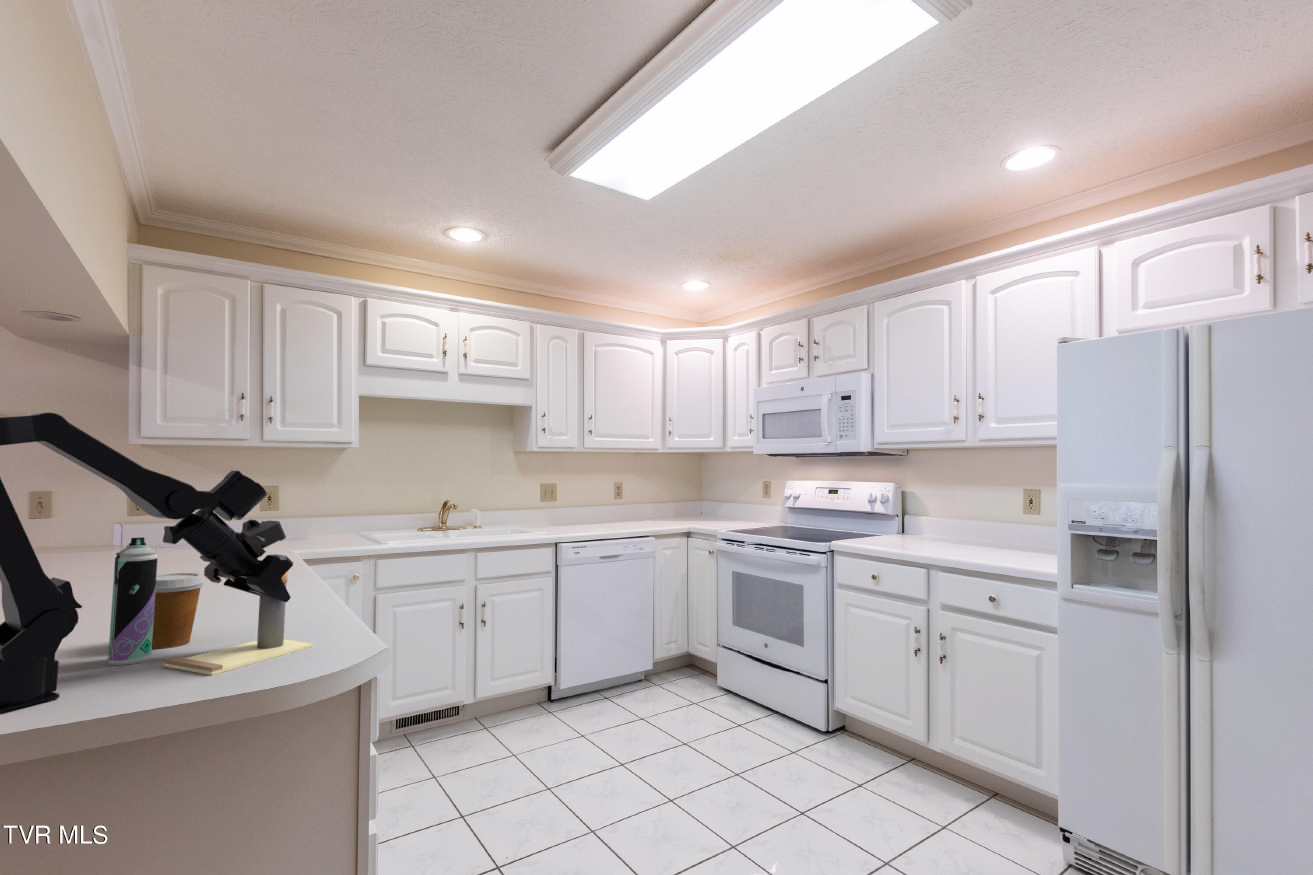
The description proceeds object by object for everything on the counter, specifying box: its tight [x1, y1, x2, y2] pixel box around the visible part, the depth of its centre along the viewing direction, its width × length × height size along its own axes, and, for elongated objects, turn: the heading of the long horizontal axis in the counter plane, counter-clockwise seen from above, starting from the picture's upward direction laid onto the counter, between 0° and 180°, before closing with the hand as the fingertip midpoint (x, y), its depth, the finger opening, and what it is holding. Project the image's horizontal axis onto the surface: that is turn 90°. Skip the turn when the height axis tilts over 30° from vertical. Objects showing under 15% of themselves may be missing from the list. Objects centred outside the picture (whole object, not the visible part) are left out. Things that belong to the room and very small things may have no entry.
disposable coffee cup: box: [152, 572, 205, 649], centre depth 115 cm, size 10×10×12 cm
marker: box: [256, 570, 289, 649], centre depth 113 cm, size 4×4×14 cm
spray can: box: [107, 537, 158, 666], centre depth 105 cm, size 6×6×20 cm
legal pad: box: [164, 639, 314, 676], centre depth 108 cm, size 18×11×1 cm, turn 159°
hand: (280, 598), depth 114 cm, fingers open, 5 cm apart
